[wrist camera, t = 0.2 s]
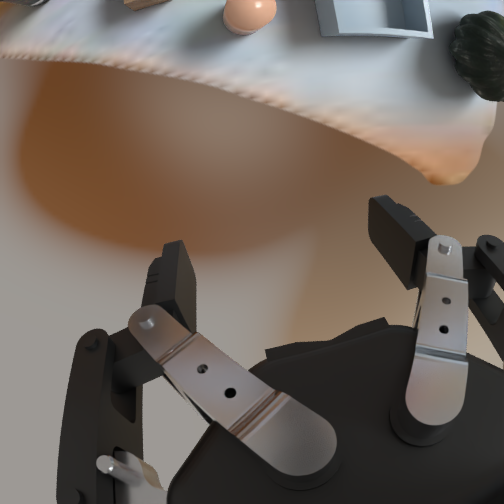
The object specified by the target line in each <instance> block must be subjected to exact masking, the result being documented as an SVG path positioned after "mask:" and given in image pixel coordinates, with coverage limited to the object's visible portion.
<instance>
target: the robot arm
mask: <svg viewBox="0 0 504 504" xmlns="http://www.w3.org/2000/svg"><path fill="white" fill-rule="evenodd" d="M368 215H369V216H368V232H369V237H370V239H371V241H372V243H373V244H374V246H375V247H376V248H377V250H378V251H379V252H380V253H381V255H382V256H383V257H384V259H385V260H386V261H387V263H388V264H389V265H390V267H391V268H392V270H393V271H394V272H395V274H396V275H397V276H398V278H399V279H400V281H401V282H402V283H403V285H404V286H405V288H406V289H407V290H410V289H413V288H416V287H418V288H419V292H418V297H417V303H416V309H415V314H414V319H413V325H412V327H408V326H403V325H389V324H388V323H387V321H386V319H385V317H383V318H379V319H376V320H373V321H370V322H367V323H364V324H360V325H358V326H355V327H354V328H352V329H350V330H348V331H346V332H345V333H343V334H341V335H339V336H337V337H336V338H334V339H332V340H329V341H315V342H314V341H313V342H295V343H291V344H287V345H283V346H279V347H275V348H270V349H266V350H265V352H266V357H267V359H265V360H263V361H261V362H259V363H258V364H256V365H255V366H253V367H252V368H250V369H249V370H248V371H247V370H246V369H245V368H243V367H242V366H241V365H239V364H238V363H237V362H236V361H234V360H233V359H232V358H230V357H229V356H228V355H226V354H225V353H224V352H223V351H221V350H220V349H219V348H217V347H216V346H215V345H214V344H213V343H211V342H210V341H209V340H207V339H206V338H205V337H204V336H203V335H201V334H200V333H198V332H196V277H195V273H194V270H193V267H192V264H191V261H190V259H189V256H188V253H187V251H186V248H185V245H184V243H183V241H182V240H178V241H174V242H170V243H167V244H164V247H163V252H162V257H159V258H155V259H154V261H153V262H152V264H151V265H150V267H149V269H148V274H147V279H146V285H145V289H144V294H143V299H142V305H141V308H140V309H138V310H137V311H135V312H134V313H133V314H132V316H131V317H130V319H129V321H128V327H127V328H125V329H123V330H121V331H119V332H117V333H114V334H112V335H110V336H109V335H108V334H107V332H106V331H104V330H103V329H93V330H90V331H88V332H87V333H85V334H84V335H83V336H82V337H81V338H80V339H79V341H78V343H77V345H76V350H75V354H74V358H73V363H72V368H71V373H70V378H69V383H68V389H67V394H66V400H65V406H64V414H63V420H62V428H61V436H60V445H59V456H58V469H57V489H56V490H57V491H56V500H57V504H504V303H503V302H502V300H501V299H500V298H499V296H498V295H497V294H496V292H495V291H494V290H493V288H494V285H495V283H496V282H497V283H498V284H499V285H500V286H501V288H502V289H503V291H504V242H502V241H501V240H500V239H498V238H497V237H495V236H491V235H482V236H480V237H479V238H478V239H477V243H476V247H461V245H460V243H459V242H458V241H457V240H455V239H454V238H452V237H449V236H445V235H436V234H435V233H434V232H433V231H432V230H431V229H430V228H429V227H428V226H427V225H426V224H425V223H424V222H423V221H421V219H420V218H419V217H418V216H416V215H415V214H414V213H413V212H412V211H411V210H410V209H409V208H407V207H405V206H403V205H401V204H399V203H398V204H396V203H395V202H394V201H393V200H392V199H391V198H390V197H389V196H387V195H382V196H377V197H372V198H370V199H369V213H368ZM468 307H469V308H470V310H471V311H472V313H473V314H474V316H475V317H476V319H477V320H478V322H479V323H480V325H481V327H482V328H483V330H484V331H485V333H486V334H487V336H488V338H489V339H490V341H491V342H492V344H493V346H494V348H495V349H496V351H497V353H498V354H499V356H500V358H501V359H502V361H503V369H501V368H498V367H496V366H494V365H492V364H490V363H487V362H486V361H484V360H481V359H479V358H477V357H475V356H473V355H471V354H469V353H467V352H466V348H467V347H466V346H467V332H468ZM160 376H163V378H164V379H165V380H166V381H167V382H168V383H169V384H170V385H171V386H172V387H173V388H174V390H176V392H177V393H178V394H179V395H180V396H181V397H182V398H183V399H184V400H185V401H186V402H187V403H188V404H189V405H190V406H191V407H192V408H193V410H194V411H195V412H196V413H197V414H198V415H199V416H200V417H201V418H202V419H203V420H204V421H205V422H206V423H207V424H208V425H209V427H208V428H207V430H206V431H205V433H204V434H203V436H202V437H201V439H200V440H199V442H198V443H197V445H196V446H195V447H194V449H193V450H192V452H191V453H190V455H189V456H188V458H187V459H186V460H185V462H184V463H183V465H182V466H181V468H180V469H179V470H178V472H177V473H176V475H175V476H174V477H173V479H172V481H171V483H170V485H169V488H168V491H165V490H164V489H163V487H162V486H161V484H160V482H159V478H158V474H157V472H156V471H155V469H154V468H153V467H152V466H151V465H149V464H147V463H146V462H144V461H143V431H142V430H143V429H142V394H143V392H142V391H143V384H144V383H146V382H148V381H151V380H153V379H155V378H158V377H160Z"/></svg>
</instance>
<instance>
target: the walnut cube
mask: <svg viewBox="0 0 504 504" xmlns="http://www.w3.org/2000/svg"><path fill="white" fill-rule="evenodd" d="M165 1H169V0H124V4H125V5H126V6H128V7H129V8H131V9H132V10H134V11H136V10H139V9H142V8H145V7H148V6H152V5H155V4H158V3H162V2H165Z"/></svg>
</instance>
